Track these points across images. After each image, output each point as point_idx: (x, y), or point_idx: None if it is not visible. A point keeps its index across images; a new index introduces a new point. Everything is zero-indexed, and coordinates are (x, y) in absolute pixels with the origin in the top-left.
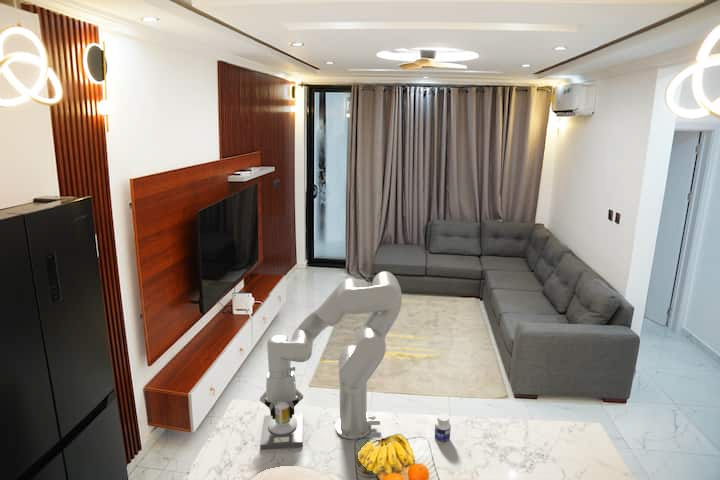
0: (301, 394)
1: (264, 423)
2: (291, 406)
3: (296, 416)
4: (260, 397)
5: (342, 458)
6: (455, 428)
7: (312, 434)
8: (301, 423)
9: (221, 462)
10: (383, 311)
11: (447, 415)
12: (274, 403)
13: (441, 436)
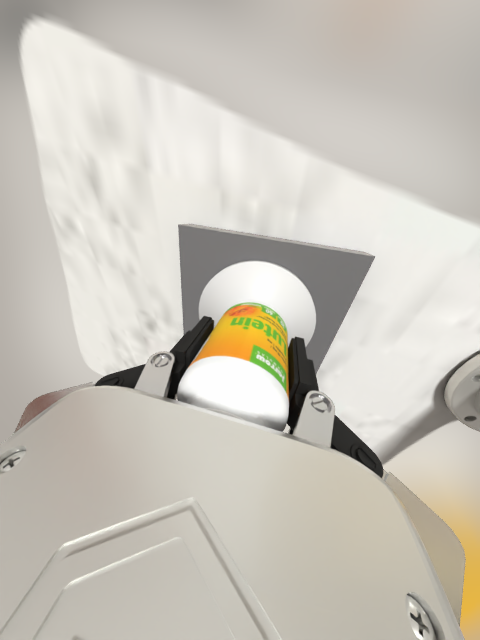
0: (448, 586)
1: (185, 284)
2: (293, 430)
3: (328, 276)
4: (25, 415)
5: (383, 447)
6: None
7: (351, 357)
8: (332, 330)
9: (120, 363)
10: None
11: None
12: (177, 392)
13: None
